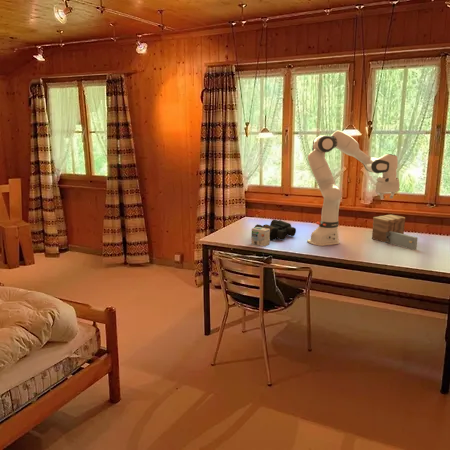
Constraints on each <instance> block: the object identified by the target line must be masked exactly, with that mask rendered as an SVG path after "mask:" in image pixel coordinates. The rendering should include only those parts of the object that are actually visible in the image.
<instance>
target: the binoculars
mask: <svg viewBox="0 0 450 450" xmlns="http://www.w3.org/2000/svg"><path fill="white" fill-rule="evenodd" d="M255 227H261V228H268V229H270V240H271V241H276V240H277V239H279V240H281V241H282V240H283V241H284V240H286V238H287V236H291V237H294V236H295V235H296V232H297V229H296V227H294V226H292V224H291V223H289V222H286V221H284V220H281V219H280V220H279V219H272V220H271V222H270V224H263V225H261V224H256V225H254V227H253V228H255Z"/></svg>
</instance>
